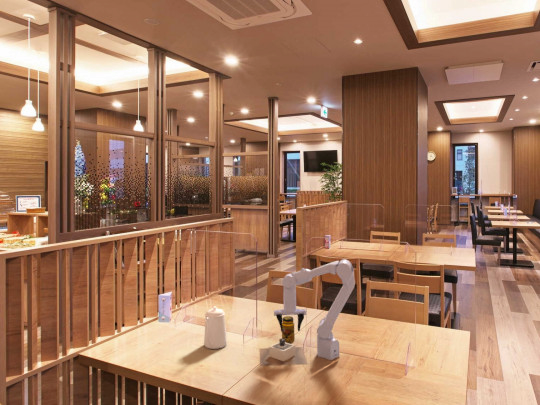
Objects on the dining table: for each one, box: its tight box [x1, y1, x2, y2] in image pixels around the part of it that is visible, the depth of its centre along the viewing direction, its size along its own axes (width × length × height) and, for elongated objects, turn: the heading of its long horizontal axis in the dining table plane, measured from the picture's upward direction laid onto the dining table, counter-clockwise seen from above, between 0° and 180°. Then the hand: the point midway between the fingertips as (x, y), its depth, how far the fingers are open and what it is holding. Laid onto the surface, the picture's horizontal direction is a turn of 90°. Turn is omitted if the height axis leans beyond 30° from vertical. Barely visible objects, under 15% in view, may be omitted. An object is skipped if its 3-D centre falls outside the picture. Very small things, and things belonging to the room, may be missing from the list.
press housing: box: [268, 341, 296, 361], centre depth 182 cm, size 8×8×4 cm
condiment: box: [281, 315, 296, 344], centre depth 201 cm, size 7×8×12 cm
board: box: [259, 346, 308, 367], centre depth 183 cm, size 20×18×1 cm
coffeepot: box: [203, 305, 228, 350], centre depth 197 cm, size 11×25×19 cm, turn 168°
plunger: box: [277, 338, 287, 350], centre depth 182 cm, size 6×6×7 cm
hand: (290, 330), depth 187 cm, fingers open, 7 cm apart
